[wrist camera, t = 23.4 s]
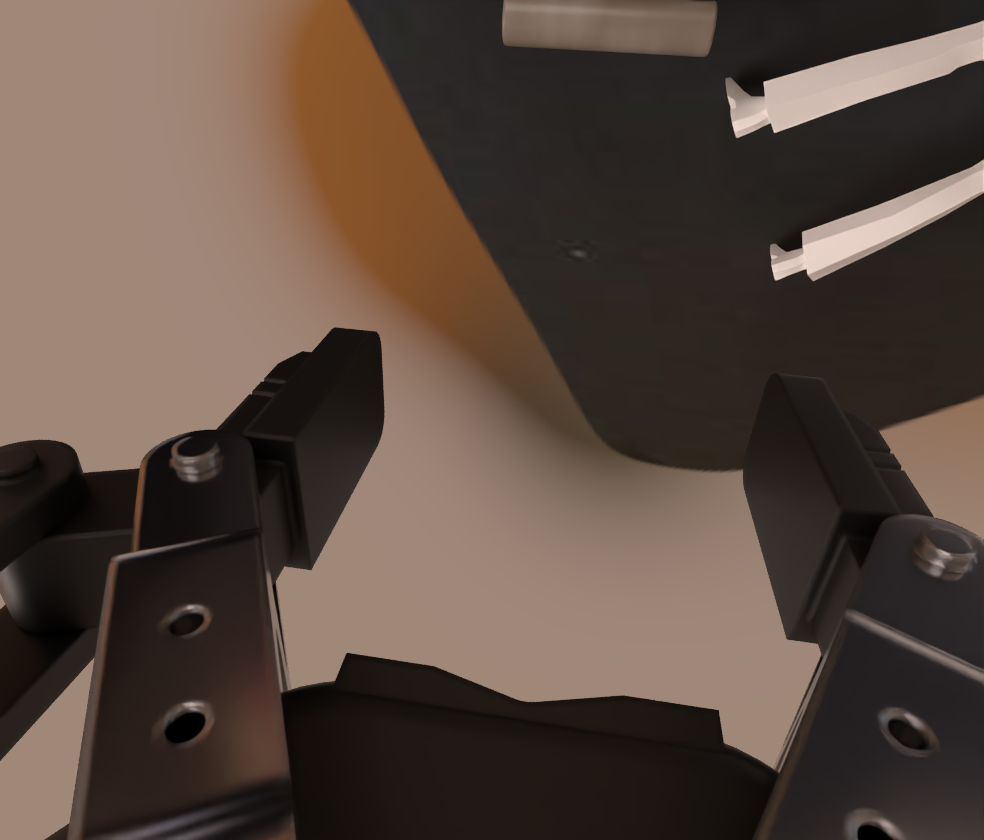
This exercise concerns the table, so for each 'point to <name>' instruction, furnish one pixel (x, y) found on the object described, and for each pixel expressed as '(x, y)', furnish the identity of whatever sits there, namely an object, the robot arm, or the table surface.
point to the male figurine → (842, 88)
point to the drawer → (612, 25)
